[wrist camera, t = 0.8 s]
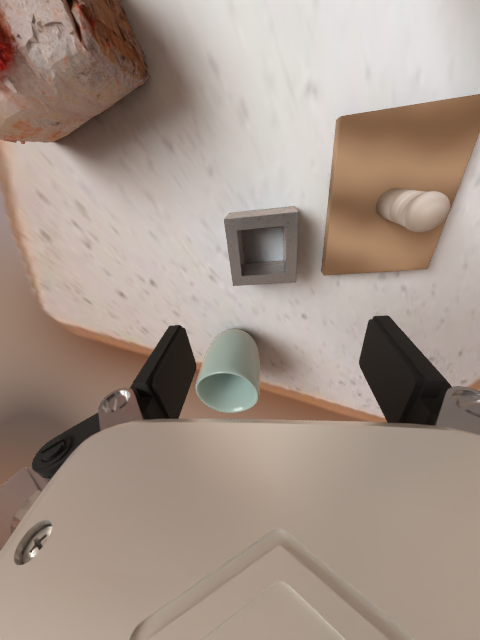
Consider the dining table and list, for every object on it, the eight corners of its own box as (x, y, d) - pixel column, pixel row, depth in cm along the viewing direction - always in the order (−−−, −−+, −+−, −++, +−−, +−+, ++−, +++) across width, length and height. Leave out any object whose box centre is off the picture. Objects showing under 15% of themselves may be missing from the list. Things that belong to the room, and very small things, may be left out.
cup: (229, 364, 38) (218, 418, 30) (202, 333, 34) (182, 383, 26) (269, 349, 35) (270, 404, 27) (244, 313, 32) (236, 363, 23)
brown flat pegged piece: (336, 119, 19) (375, 90, 12) (478, 97, 18) (615, 49, 11) (321, 270, 27) (340, 304, 20) (419, 264, 25) (477, 298, 19)
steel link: (229, 213, 24) (224, 219, 21) (293, 206, 23) (298, 211, 20) (236, 272, 28) (233, 285, 25) (292, 268, 27) (296, 282, 24)
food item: (53, 159, 23) (-60, 152, 15) (-17, 54, 19) (-223, -31, 11) (160, 91, 19) (85, 33, 11) (100, -57, 15) (-82, -308, 7)
